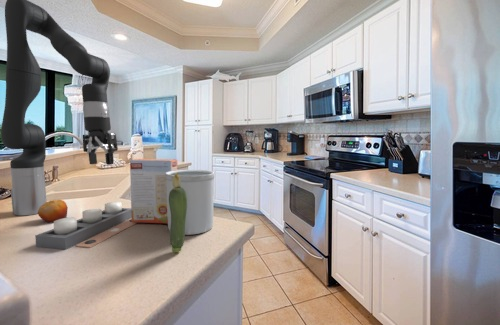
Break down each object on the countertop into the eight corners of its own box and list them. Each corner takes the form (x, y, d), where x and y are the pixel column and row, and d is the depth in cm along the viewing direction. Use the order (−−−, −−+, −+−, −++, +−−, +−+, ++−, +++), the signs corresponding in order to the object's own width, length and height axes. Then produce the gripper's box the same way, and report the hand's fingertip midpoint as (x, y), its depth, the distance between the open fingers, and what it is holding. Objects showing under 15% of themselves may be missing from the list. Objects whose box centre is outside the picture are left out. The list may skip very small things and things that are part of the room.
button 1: (49, 234, 65) (48, 222, 65) (66, 227, 70) (65, 217, 70) (65, 235, 64) (64, 224, 64) (81, 228, 69) (81, 218, 69)
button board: (36, 246, 64) (35, 235, 64) (111, 215, 90) (111, 207, 90) (65, 249, 62) (64, 238, 62) (134, 216, 89) (133, 208, 88)
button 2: (101, 214, 83) (101, 205, 83) (112, 209, 88) (112, 201, 87) (114, 214, 82) (114, 205, 82) (125, 210, 87) (124, 202, 87)
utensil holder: (154, 231, 74) (154, 172, 72) (184, 217, 87) (184, 168, 86) (197, 239, 68) (198, 177, 67) (221, 223, 82) (223, 171, 81)
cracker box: (179, 219, 86) (178, 158, 84) (171, 224, 80) (171, 160, 78) (140, 217, 87) (139, 158, 85) (130, 222, 81) (129, 159, 79)
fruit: (79, 212, 89) (66, 196, 84) (60, 230, 83) (44, 213, 78) (63, 210, 91) (49, 194, 87) (43, 227, 85) (28, 211, 81)
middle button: (78, 222, 74) (78, 212, 74) (92, 217, 79) (91, 208, 79) (93, 224, 73) (92, 213, 73) (105, 218, 78) (105, 209, 78)
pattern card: (75, 246, 64) (75, 245, 64) (132, 218, 87) (132, 217, 87) (90, 247, 63) (90, 246, 63) (143, 219, 86) (143, 218, 86)
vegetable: (172, 247, 64) (170, 170, 62) (189, 247, 64) (188, 170, 62) (168, 255, 59) (165, 173, 57) (186, 255, 60) (184, 172, 58)
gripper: (72, 117, 83) (77, 165, 84) (100, 114, 77) (105, 165, 78) (94, 118, 90) (98, 163, 91) (121, 115, 84) (125, 163, 85)
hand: (101, 164), depth 85 cm, fingers open, 8 cm apart
